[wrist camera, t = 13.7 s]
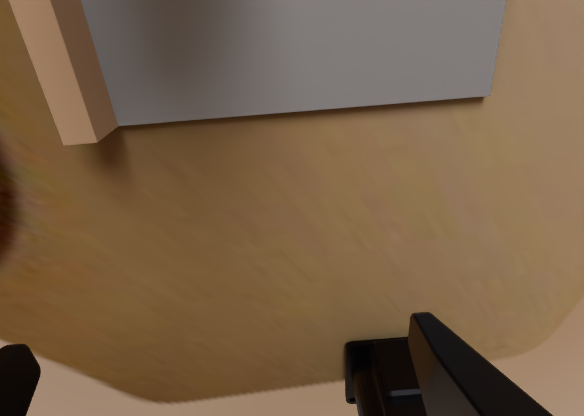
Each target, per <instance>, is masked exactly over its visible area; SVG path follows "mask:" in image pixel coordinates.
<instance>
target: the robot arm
mask: <svg viewBox="0 0 584 416" xmlns="http://www.w3.org/2000/svg"><path fill="white" fill-rule="evenodd" d="M352 348H353V349H352ZM40 372H41V371H40V366H39V364H38V362H37V360H36V359H35V357H34V355H33V354H32V352H31V350H30V348H29V347H28V346H27V345H25V344H13V345H6V346H4V347H2V348H1V349H0V416H26V414H27V411H28V408H29V406H30V403H31V400H32V397H33V395H34V392H35V389H36V386H37V384H38V381H39V378H40ZM345 393H346V394H345V395H346V401H347V403H349V404H357V409H358V414H359V416H553V415H552V414H551V413H549V412H548V411H547V410H546V409H544V408H543V407H542V406H541V405H540V404H539V403H537V402H536V401H535V400H534V399H532V398H531V397H530V396H529V395H528V394H527V393H525V392H524V391H523V390H522V389H521V388H520V387H518V386H517V385H516V384H515V383H514V382H512V381H511V380H510V379H509V378H508V377H506V376H505V375H504V374H503V373H502V372H500V371H499V370H498V369H497V368H496V367H494V366H493V365H492V364H491V363H490V362H489V361H487V360H486V359H485V358H484V357H483V356H481V355H480V354H479V353H478V352H477V351H475V350H474V349H473V348H472V347H471V346H469V345H468V344H467V343H466V342H465V341H464V340H462V339H461V338H460V337H459V336H458V335H456V334H455V333H454V332H453V331H452V330H450V329H449V328H448V327H447V326H446V325H444V324H443V323H442V322H441V321H440V320H438V319H437V318H436V317H435V316H434V315H433V314H431V313H429V312H420V313H413V314H411V317H410V325H409V335H408V337H402V338H389V339H376V340H363V341H351V342H348V343H347V344H346V345H345Z"/></svg>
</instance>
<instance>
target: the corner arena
mask: <svg viewBox="0 0 584 416" xmlns="http://www.w3.org/2000/svg"><path fill="white" fill-rule="evenodd" d="M9 2H10V4H11V7H12V10H13V12H14V15H15V18H16V20H17V23H18V26H19V28H20V31H21V34H22V36H23V39H24V41H25V44H26V47H27V49H28V52H29V55H30V57H31V60H32V63H33V65H34V68H35V71H36V73H37V76H38V79H39V81H40V84H41V87H42V89H43V92H44V95H45V97H46V100H47V103H48V105H49V108H50V110H51V113H52V116H53V118H54V121H55V124H56V126H57V129H58V132H59V134H60V137H61V140H62V142H63V145H74V144H86V143H97V142H99V141H100V140H101V139H103V138H104V137H105V136H106V135H108V134H109V133H110V132H111V131H113V130H114V129H115V128H117V127H118V126H126V125H138V124H151V123H163V122H175V121H188V120H200V119H212V118H224V117H237V116H249V115H261V114H274V113H286V112H298V111H311V110H323V109H335V108H347V107H360V106H372V105H384V104H397V103H409V102H421V101H433V100H446V99H458V98H470V97H483V96H490V92H491V86H492V80H493V75H494V69H495V63H496V57H497V51H498V46H499V40H500V34H501V28H502V22H503V17H504V11H505V5H506V0H9Z"/></svg>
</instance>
